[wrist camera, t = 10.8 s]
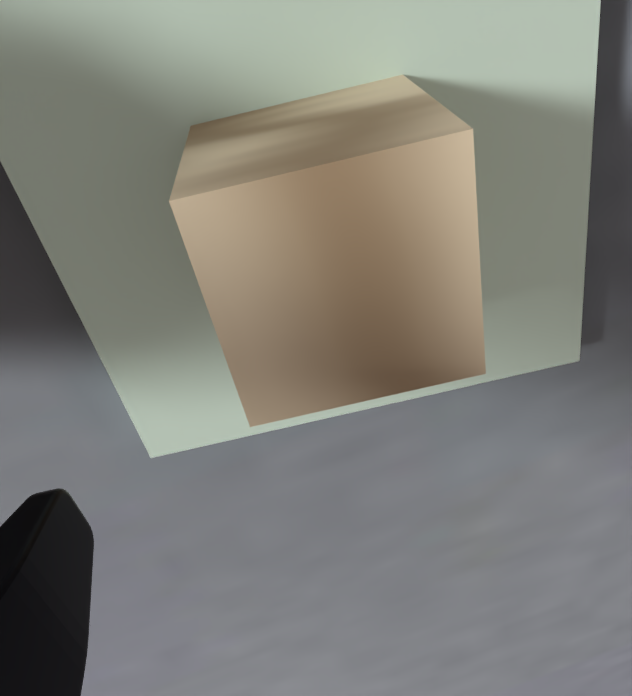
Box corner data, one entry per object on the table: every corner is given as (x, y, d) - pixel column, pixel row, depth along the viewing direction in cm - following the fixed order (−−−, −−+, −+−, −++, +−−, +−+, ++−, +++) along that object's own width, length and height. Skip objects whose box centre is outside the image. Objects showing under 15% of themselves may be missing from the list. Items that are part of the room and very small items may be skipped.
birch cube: (247, 308, 17) (250, 427, 12) (190, 125, 14) (168, 201, 10) (424, 267, 16) (486, 373, 12) (402, 74, 14) (472, 129, 10)
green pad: (155, 433, 20) (150, 458, 19) (-82, -55, 12) (-110, -56, 11) (562, 340, 20) (579, 360, 19) (584, -225, 12) (614, -241, 11)
